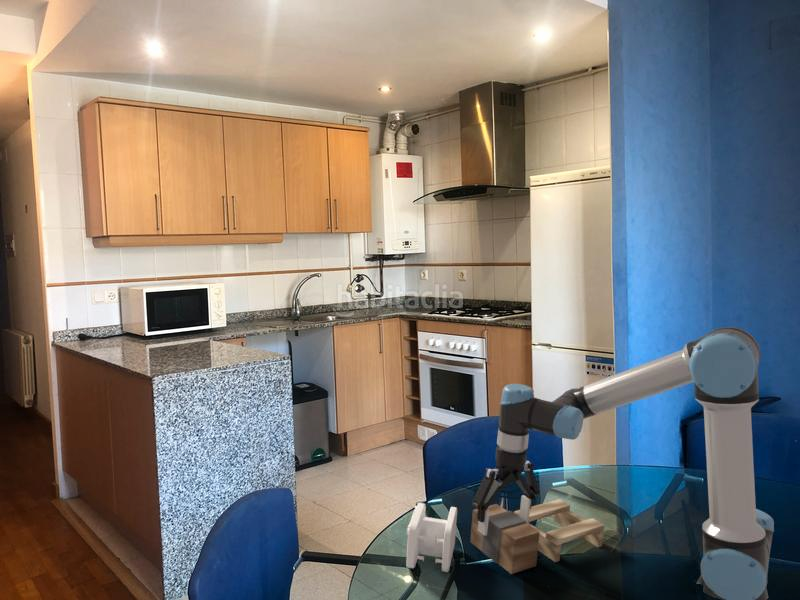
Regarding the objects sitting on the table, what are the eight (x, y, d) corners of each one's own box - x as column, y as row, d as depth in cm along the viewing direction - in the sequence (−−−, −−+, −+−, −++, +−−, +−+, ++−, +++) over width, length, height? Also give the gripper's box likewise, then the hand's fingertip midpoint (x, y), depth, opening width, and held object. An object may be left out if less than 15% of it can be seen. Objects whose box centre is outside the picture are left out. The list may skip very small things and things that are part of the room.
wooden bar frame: (601, 546, 169) (604, 524, 168) (555, 562, 160) (557, 539, 159) (557, 518, 182) (559, 499, 181) (512, 532, 173) (514, 511, 172)
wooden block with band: (536, 565, 158) (540, 530, 157) (510, 574, 154) (514, 538, 152) (494, 535, 171) (497, 502, 170) (469, 542, 167) (472, 508, 165)
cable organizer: (447, 580, 150) (451, 533, 148) (403, 572, 152) (406, 526, 150) (454, 547, 164) (458, 504, 162) (414, 540, 166) (417, 498, 164)
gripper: (538, 434, 168) (529, 510, 171) (462, 448, 155) (454, 530, 158) (559, 445, 162) (550, 523, 165) (481, 460, 148) (473, 545, 152)
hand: (503, 527), depth 162 cm, fingers open, 13 cm apart
